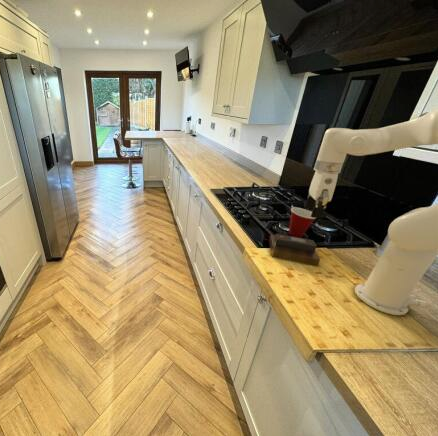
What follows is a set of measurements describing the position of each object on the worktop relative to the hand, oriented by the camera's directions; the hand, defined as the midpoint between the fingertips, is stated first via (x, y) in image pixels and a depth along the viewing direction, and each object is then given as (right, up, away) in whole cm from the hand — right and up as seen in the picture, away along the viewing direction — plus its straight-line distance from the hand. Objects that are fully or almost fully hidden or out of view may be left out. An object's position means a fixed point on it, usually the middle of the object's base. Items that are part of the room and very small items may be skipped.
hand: (312, 212), depth 87 cm
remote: (-1, -14, +10) cm, 17 cm away
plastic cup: (+10, -10, +25) cm, 29 cm away
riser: (-1, -16, +11) cm, 20 cm away
